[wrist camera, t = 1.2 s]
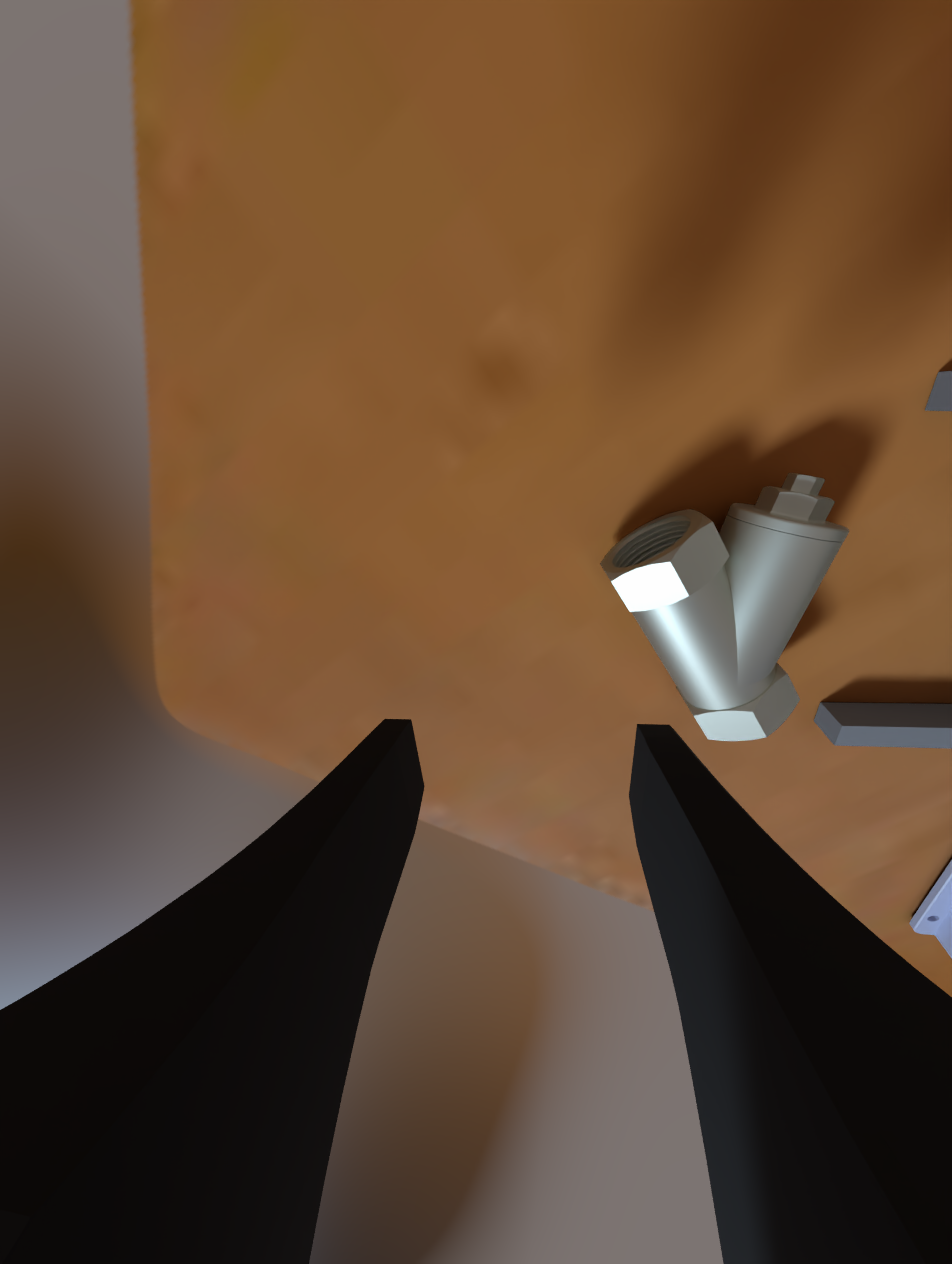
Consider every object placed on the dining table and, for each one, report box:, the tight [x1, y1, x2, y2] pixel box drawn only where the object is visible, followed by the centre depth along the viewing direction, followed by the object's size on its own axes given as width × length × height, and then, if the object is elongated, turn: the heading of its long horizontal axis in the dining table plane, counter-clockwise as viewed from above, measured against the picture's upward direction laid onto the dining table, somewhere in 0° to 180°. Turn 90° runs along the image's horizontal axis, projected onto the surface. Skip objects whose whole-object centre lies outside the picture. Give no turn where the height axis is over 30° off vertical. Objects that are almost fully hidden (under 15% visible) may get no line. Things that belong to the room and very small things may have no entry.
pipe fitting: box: [600, 473, 849, 741], centre depth 15 cm, size 8×4×7 cm
